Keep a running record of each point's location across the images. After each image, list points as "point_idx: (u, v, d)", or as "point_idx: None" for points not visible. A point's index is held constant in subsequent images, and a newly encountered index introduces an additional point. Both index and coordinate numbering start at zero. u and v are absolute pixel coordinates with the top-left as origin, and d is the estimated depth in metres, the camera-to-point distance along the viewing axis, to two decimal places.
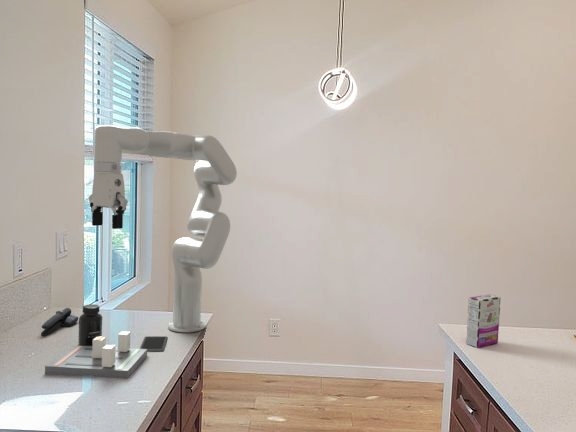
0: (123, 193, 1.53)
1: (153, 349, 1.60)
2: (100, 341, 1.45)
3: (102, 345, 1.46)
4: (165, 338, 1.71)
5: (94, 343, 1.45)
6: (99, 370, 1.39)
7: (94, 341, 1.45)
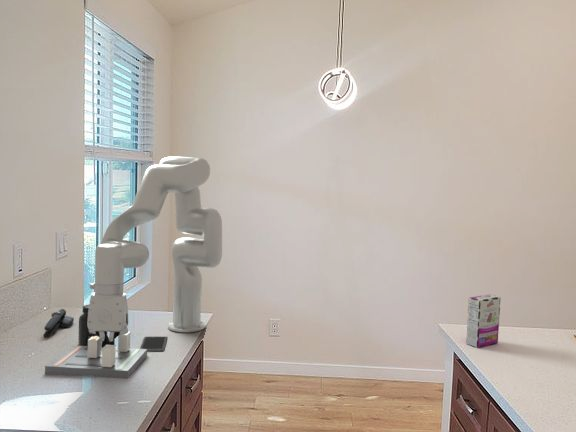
0: (88, 314, 1.44)
1: (153, 349, 1.60)
2: (95, 341, 1.45)
3: (97, 345, 1.46)
4: (165, 338, 1.71)
5: (89, 343, 1.45)
6: (99, 370, 1.39)
7: (89, 341, 1.45)
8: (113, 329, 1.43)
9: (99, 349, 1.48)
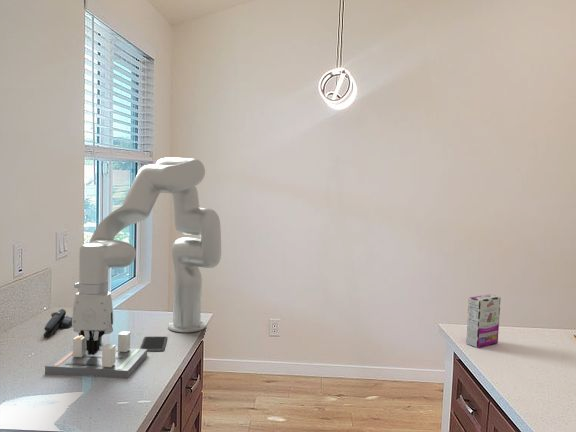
0: None
1: (153, 349, 1.60)
2: (80, 340, 1.45)
3: (82, 344, 1.46)
4: (165, 338, 1.71)
5: (74, 342, 1.45)
6: (99, 370, 1.39)
7: (74, 340, 1.45)
8: (98, 328, 1.44)
9: (85, 348, 1.48)
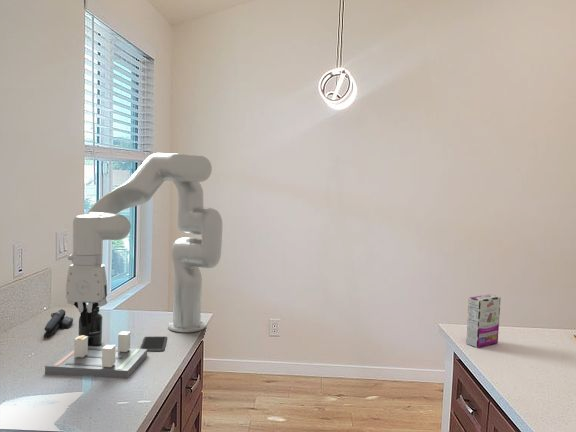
0: None
1: (153, 349, 1.60)
2: (82, 340, 1.45)
3: (84, 344, 1.46)
4: (165, 338, 1.71)
5: (76, 342, 1.45)
6: (99, 370, 1.39)
7: (76, 340, 1.45)
8: (91, 300, 1.43)
9: (86, 349, 1.48)
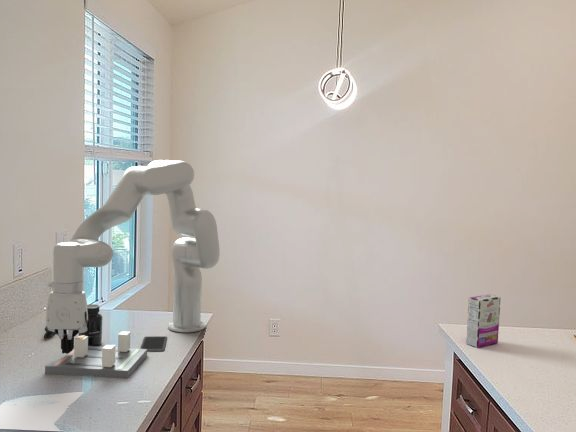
0: None
1: (153, 349, 1.60)
2: (82, 340, 1.45)
3: (84, 344, 1.46)
4: (165, 338, 1.71)
5: (76, 342, 1.45)
6: (99, 370, 1.39)
7: (76, 340, 1.45)
8: (71, 327, 1.44)
9: (86, 349, 1.48)
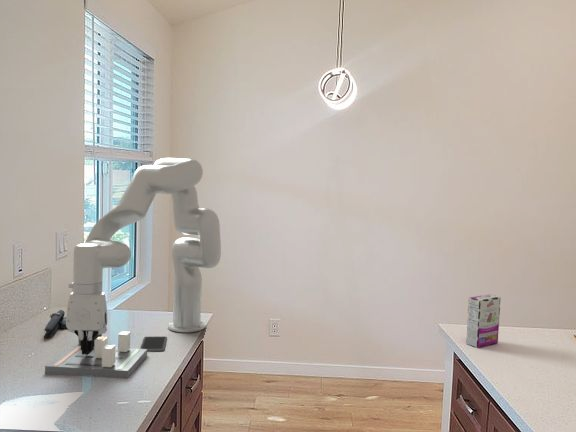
0: None
1: (153, 349, 1.60)
2: (102, 341, 1.45)
3: (104, 345, 1.46)
4: (165, 338, 1.71)
5: (96, 343, 1.45)
6: (99, 370, 1.39)
7: (96, 341, 1.45)
8: (91, 328, 1.44)
9: None
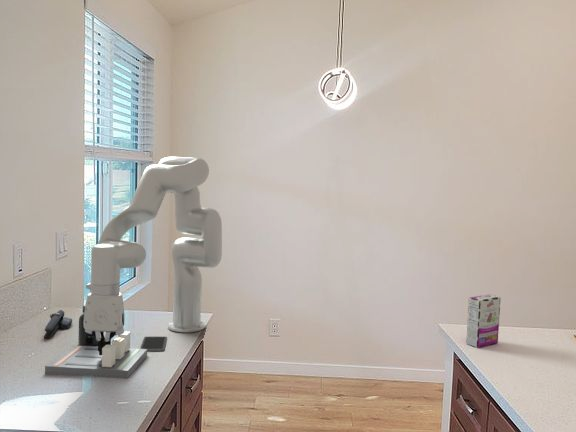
0: None
1: (153, 349, 1.60)
2: (119, 342, 1.45)
3: (121, 346, 1.46)
4: (165, 338, 1.71)
5: (113, 344, 1.45)
6: (99, 370, 1.39)
7: (113, 342, 1.45)
8: (109, 329, 1.43)
9: (123, 351, 1.48)
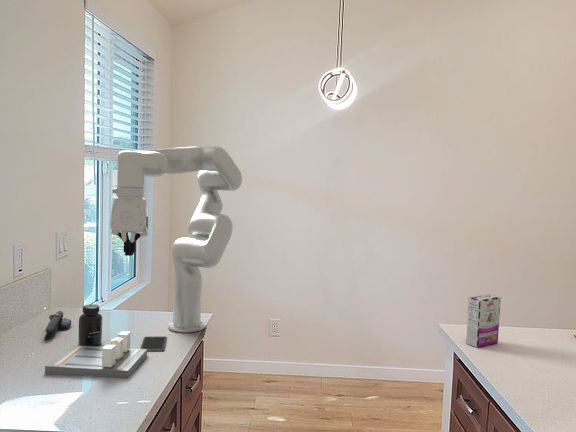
0: (111, 216, 1.54)
1: (154, 349, 1.60)
2: (118, 342, 1.45)
3: (120, 346, 1.46)
4: (165, 338, 1.71)
5: (112, 344, 1.45)
6: (99, 370, 1.39)
7: (112, 342, 1.45)
8: (134, 230, 1.53)
9: (122, 351, 1.48)
